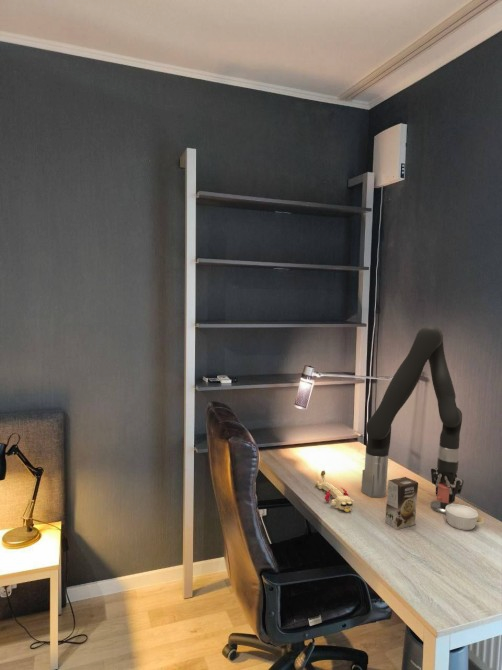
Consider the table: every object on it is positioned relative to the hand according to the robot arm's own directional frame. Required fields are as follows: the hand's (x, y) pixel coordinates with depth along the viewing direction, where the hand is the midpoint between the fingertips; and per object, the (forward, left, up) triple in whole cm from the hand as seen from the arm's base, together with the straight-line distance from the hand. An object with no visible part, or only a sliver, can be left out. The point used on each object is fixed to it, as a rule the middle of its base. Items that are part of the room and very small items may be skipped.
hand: (444, 499), depth 182 cm
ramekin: (-4, -11, -4) cm, 12 cm away
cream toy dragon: (-36, +24, -4) cm, 43 cm away
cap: (0, 0, 0) cm, 0 cm away
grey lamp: (0, 0, -4) cm, 4 cm away
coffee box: (-25, -2, -4) cm, 25 cm away
